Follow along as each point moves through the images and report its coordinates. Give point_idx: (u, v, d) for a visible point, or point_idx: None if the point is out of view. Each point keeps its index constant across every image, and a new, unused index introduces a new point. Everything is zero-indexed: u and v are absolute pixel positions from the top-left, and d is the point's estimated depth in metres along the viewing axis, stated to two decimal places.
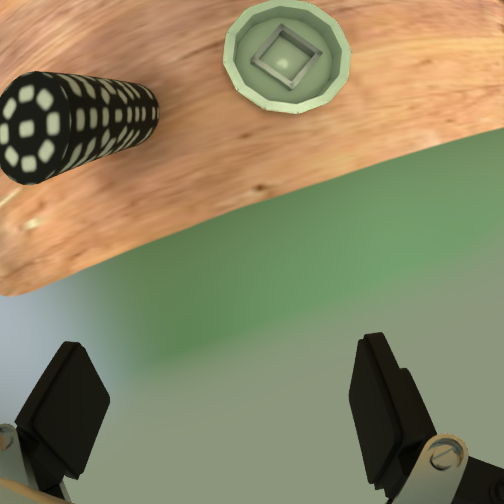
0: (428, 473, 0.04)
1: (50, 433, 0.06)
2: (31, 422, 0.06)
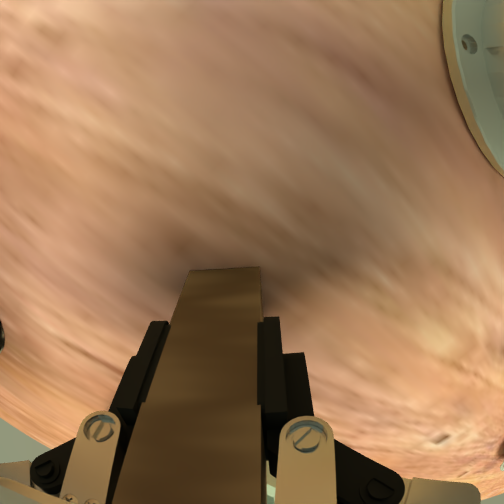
0: (296, 459, 0.06)
1: None
2: (136, 404, 0.07)
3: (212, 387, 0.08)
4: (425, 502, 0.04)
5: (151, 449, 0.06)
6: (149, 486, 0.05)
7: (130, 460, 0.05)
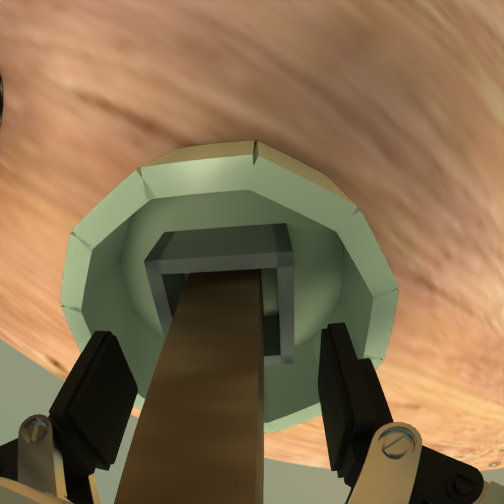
0: (382, 463, 0.05)
1: (85, 422, 0.07)
2: (67, 411, 0.07)
3: (216, 360, 0.09)
4: None
5: (161, 413, 0.07)
6: (159, 445, 0.06)
7: (143, 423, 0.07)
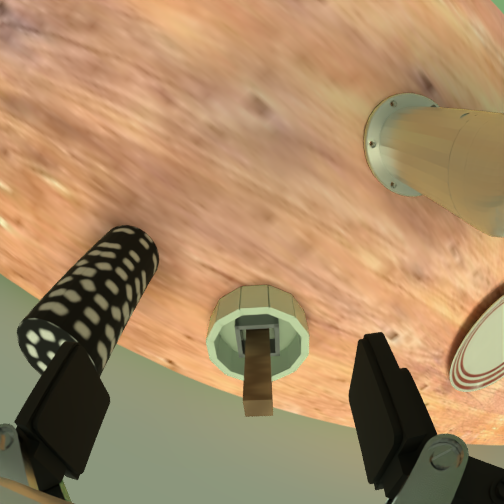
0: (428, 473, 0.04)
1: (50, 433, 0.06)
2: (31, 422, 0.06)
3: (260, 352, 0.37)
4: None
5: (249, 364, 0.35)
6: (250, 370, 0.34)
7: (245, 367, 0.35)
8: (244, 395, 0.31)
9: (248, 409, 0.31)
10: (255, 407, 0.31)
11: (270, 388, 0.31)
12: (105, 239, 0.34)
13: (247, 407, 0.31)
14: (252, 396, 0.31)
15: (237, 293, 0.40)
